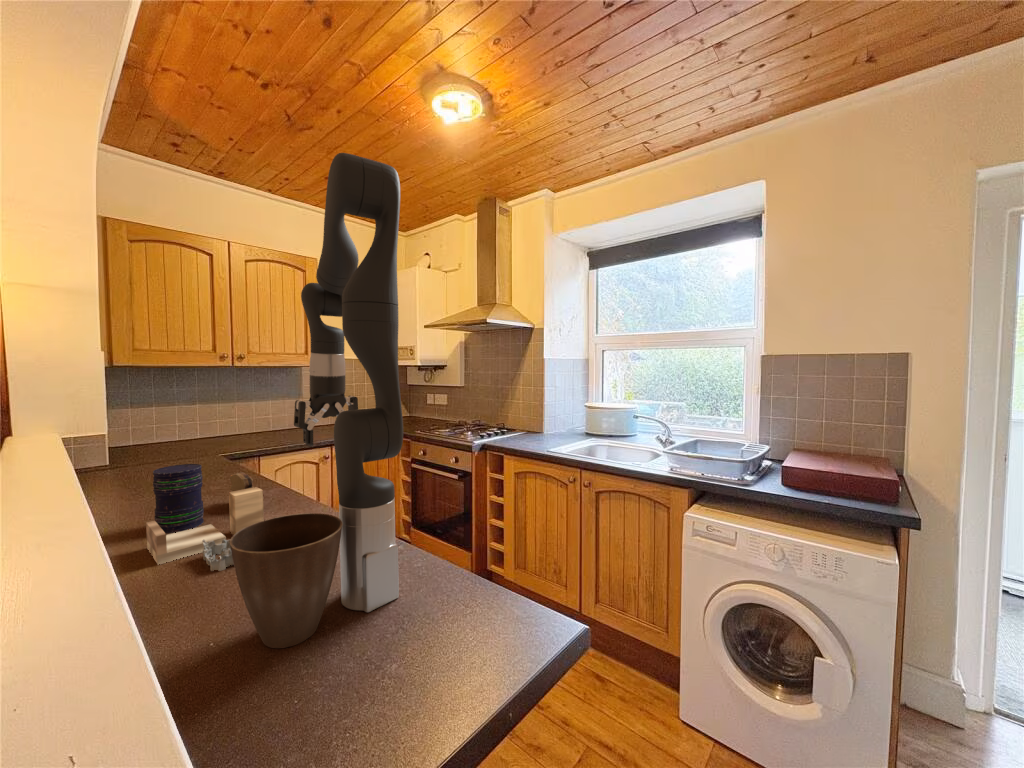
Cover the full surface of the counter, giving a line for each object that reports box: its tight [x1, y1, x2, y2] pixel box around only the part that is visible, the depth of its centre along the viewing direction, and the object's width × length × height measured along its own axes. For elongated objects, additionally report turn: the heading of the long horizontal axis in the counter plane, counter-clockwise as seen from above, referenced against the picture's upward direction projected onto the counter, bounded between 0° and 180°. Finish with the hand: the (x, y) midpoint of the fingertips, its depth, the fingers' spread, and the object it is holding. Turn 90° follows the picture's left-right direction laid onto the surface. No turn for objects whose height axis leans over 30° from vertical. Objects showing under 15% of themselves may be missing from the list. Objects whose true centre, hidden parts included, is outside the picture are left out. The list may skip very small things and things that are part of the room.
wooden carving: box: [228, 472, 254, 492], centre depth 121 cm, size 16×5×10 cm, turn 58°
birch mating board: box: [145, 519, 227, 566], centre depth 94 cm, size 12×12×6 cm
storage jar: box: [152, 463, 205, 534], centre depth 106 cm, size 10×10×15 cm
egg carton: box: [202, 539, 234, 572], centre depth 88 cm, size 11×8×4 cm
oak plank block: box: [228, 486, 264, 536], centre depth 103 cm, size 4×6×10 cm
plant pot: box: [229, 512, 342, 649], centre depth 63 cm, size 15×15×16 cm
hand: (327, 442), depth 96 cm, fingers open, 8 cm apart
